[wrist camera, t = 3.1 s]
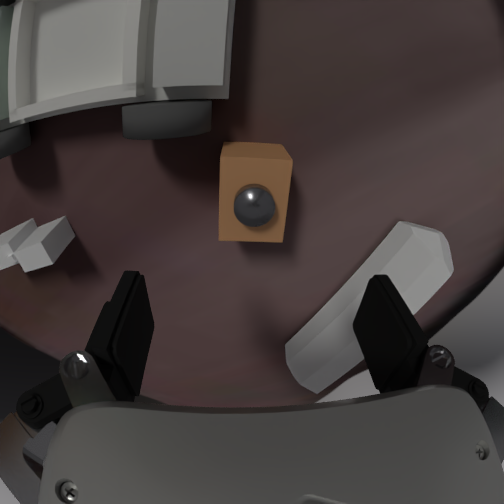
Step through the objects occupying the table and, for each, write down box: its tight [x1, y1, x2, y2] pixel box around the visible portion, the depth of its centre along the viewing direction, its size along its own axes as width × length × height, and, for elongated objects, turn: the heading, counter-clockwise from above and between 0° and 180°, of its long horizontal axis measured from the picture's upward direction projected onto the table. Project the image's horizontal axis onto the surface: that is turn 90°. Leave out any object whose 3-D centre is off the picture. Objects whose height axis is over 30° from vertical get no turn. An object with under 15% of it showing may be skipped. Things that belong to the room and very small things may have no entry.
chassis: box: [0, 0, 236, 159], centre depth 12 cm, size 24×17×6 cm
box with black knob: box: [219, 141, 293, 242], centre depth 20 cm, size 6×4×6 cm
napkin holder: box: [0, 216, 75, 272], centre depth 22 cm, size 15×11×6 cm
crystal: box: [285, 221, 454, 394], centre depth 29 cm, size 7×7×24 cm
